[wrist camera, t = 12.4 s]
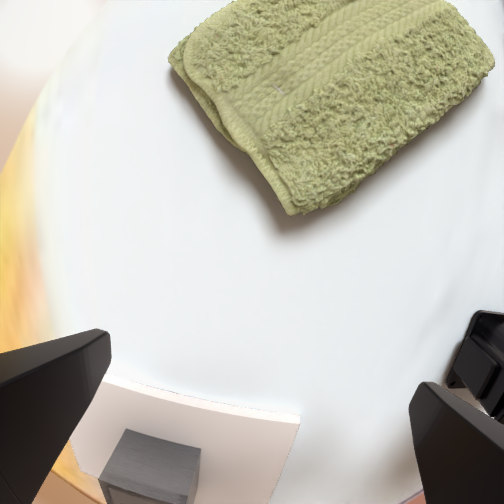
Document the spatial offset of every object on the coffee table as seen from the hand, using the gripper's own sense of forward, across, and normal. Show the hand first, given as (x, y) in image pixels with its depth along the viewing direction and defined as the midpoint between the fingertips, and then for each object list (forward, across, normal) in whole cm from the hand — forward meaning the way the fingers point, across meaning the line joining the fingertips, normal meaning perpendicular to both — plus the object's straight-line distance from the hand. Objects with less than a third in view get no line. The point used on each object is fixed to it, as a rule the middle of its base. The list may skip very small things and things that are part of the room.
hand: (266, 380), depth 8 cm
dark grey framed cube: (+10, +6, +19) cm, 22 cm away
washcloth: (+12, -2, -13) cm, 18 cm away
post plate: (+11, +6, +19) cm, 23 cm away
